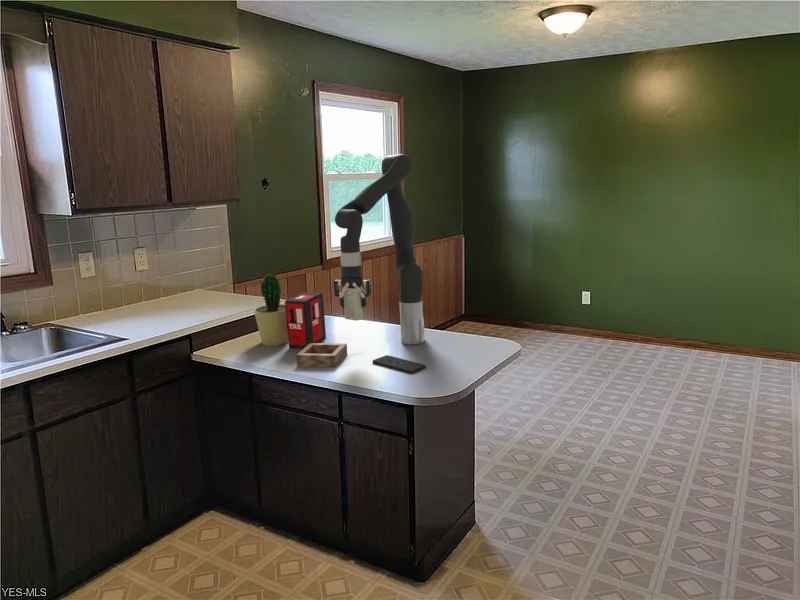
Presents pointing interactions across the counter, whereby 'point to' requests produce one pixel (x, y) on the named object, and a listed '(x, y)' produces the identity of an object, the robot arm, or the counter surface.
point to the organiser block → (321, 355)
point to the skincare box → (353, 304)
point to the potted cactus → (271, 314)
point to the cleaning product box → (305, 319)
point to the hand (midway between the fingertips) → (353, 307)
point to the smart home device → (399, 364)
